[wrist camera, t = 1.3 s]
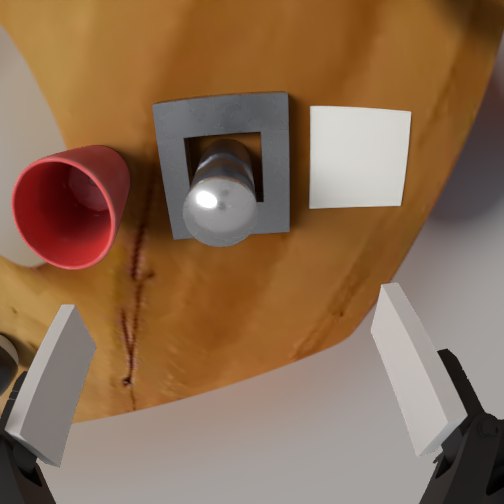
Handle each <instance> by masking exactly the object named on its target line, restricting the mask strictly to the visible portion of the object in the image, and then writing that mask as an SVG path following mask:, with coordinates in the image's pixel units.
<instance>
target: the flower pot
mask: <svg viewBox="0 0 504 504" xmlns="http://www.w3.org/2000/svg"><path fill="white" fill-rule="evenodd" d="M129 190H130V173H129V170H128V167H127V165H126V163H125V161H124V160H123V158H122V157H121V156H120V155H119V154H118V153H117V152H116V151H114V150H113V149H111V148H109V147H106V146H102V145H91V146H86V147H81V148H76V149H72V150H68V151H64V152H60V153H56V154H53V155H50V156H47V157H44V158H41V159H39V160H37V161H35V162H33V163H32V164H30V165H29V166H28V167H26V168H25V169H24V170H23V172H22V173H21V174H20V176H19V177H18V179H17V181H16V183H15V186H14V189H13V194H12V214H13V217H14V221H15V224H16V227H17V229H18V231H19V233H20V235H21V237H22V238H23V240H24V241H25V243H26V244H27V245H28V246H29V248H30V249H31V250H32V251H33V252H34V253H35V254H37V255H38V256H39V257H41V258H42V259H43V260H45V261H46V262H48V263H50V264H52V265H54V266H57V267H60V268H64V269H83V268H87V267H90V266H93V265H95V264H96V263H98V262H99V261H101V260H102V259H103V258H104V257H105V256H106V255H107V253H108V252H109V251H110V249H111V247H112V245H113V243H114V240H115V237H116V234H117V231H118V228H119V225H120V222H121V219H122V215H123V212H124V209H125V205H126V201H127V197H128V193H129Z"/></svg>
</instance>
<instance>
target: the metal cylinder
mask: <svg viewBox="0 0 504 504" xmlns="http://www.w3.org/2000/svg"><path fill="white" fill-rule="evenodd" d="M257 217H258V211H257V203H256V195H255V188H254V180H253V173H252V165H251V158H250V154H249V152H248V150H247V149H246V148H245V146H243V145H242V144H241V143H240V142H238V141H235V140H232V139H220V140H216V141H214V142H212V143H211V144H210V145H208V146H207V148H206V149H205V150H204V152H203V154H202V157H201V160H200V162H199V165H198V167H197V170H196V173H195V175H194V178H193V181H192V183H191V186H190V189H189V192H188V194H187V197H186V200H185V203H184V206H183V219H184V223H185V225H186V227H187V229H188V231H189V232H190V233H191V234H192V235H193V236H194V237H195V238H196V239H197V240H199V241H200V242H202V243H204V244H207V245H210V246H215V247H226V246H231V245H235V244H237V243H239V242H241V241H243V240H244V239H245V238H247V237H248V236H249V235H250V233H251V232H252V231H253V229H254V227H255V225H256V222H257Z"/></svg>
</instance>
